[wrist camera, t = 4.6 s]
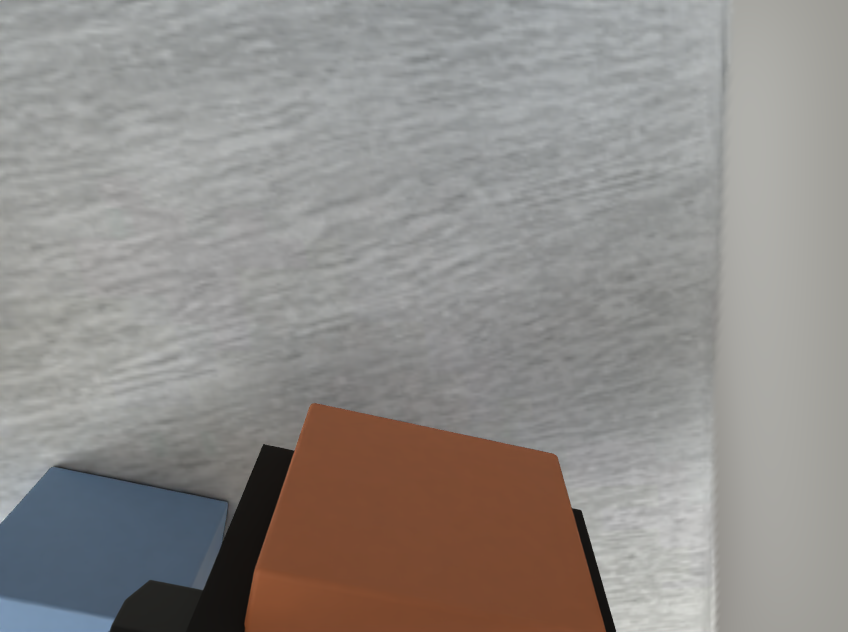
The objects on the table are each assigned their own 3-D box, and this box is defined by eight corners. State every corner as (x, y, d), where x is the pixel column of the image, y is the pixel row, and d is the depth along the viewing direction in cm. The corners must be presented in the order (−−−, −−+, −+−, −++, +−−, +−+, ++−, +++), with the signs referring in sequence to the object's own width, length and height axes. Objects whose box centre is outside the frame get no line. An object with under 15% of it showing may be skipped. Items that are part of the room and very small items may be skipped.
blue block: (51, 464, 21) (-58, 585, 17) (229, 501, 22) (172, 630, 17) (41, 605, 23) (-60, 752, 18) (206, 637, 23) (149, 789, 19)
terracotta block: (311, 400, 15) (253, 570, 10) (558, 452, 15) (611, 640, 11) (271, 600, 17) (206, 824, 12) (493, 644, 17) (514, 878, 12)
